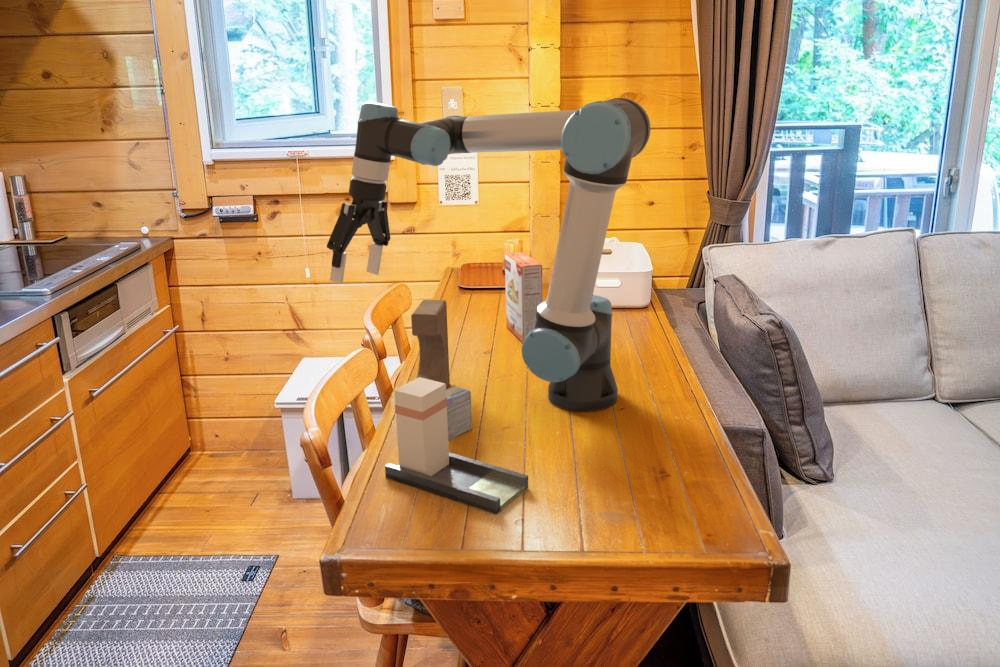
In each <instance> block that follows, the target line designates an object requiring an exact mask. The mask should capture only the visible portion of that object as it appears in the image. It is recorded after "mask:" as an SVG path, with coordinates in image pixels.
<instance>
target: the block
mask: <svg viewBox="0 0 1000 667" xmlns="http://www.w3.org/2000/svg"><path fill="white" fill-rule="evenodd" d="M446 390H447V388H446V384H445V383H441V382H437V381H433V380H429V379H425V378H421V377H418V378H417V377H415V379H413V380H411V381H409V382H407V383H405V384H403V385H401V386H400V387H397V388H396V389H394V412H395V420H396V421H395V422H396V433H397V434H396V436H397V450H398V465H399V466H401V467H404V468H407V469H410V470H413V471H416V472H419V473H423V474H426V475H429V476H433V475H434V474H435V473H437V472H438V471H440V470H441V469H443V468H444V467H446V466H447V465H448V464H449V452H450V450H449V448H450V447H449V441H448V422H447V398H446Z"/></svg>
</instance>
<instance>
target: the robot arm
mask: <svg viewBox="0 0 1000 667" xmlns="http://www.w3.org/2000/svg"><path fill="white" fill-rule="evenodd" d="M359 112H360V113H359V116H358V117H359V118H358V121H357V128H356V130H357V131H356V139H355V140H356V141H355V146H354V153H353V160H352V167H351V175H352V177H351V178H350V180H349V181H350V182H349V188H348V194H349V196H350V197H351V198H352V202H351V203H350V204H349V203H346V202H342V204H341V207H340V208H341V209H340V212H339V215H338V218H337V221H336V223H335V225H334V227H333V230H332V232H331V234H330V237H329V240H328V241H327V244H326V248H327V249H329V250H331V251H332V259H331V268H330V269H331V270H330V276H329V281H331V282H334V283H337V284H340V285H341V284H343V283H344V276H345V269H346V261H347V256H348V253H347V252H345V251H346V249H347V248H348V246H349V245H350V243H351V241H352V240H353V238H354V236H355V235H356V233H357V231H358V229H359V228H362V227H363V226H364V225H367V228H368V230H369V232H370V236H371V238H372V241H373V242H370V245H369V246H370V247H369V251H368V252H369V253H368V259H367V265H366V266H367V267H366V272H367V273H370V274H373V275H376V276H377V275H379V274H380V269H381V268H380V266H381V262H382V254H383V248H384V246H385V247H387V246H388V245H389V242H390V241H391V233H390V225H389V217H388V216H389V215H388V207H389V206H388V205H389V203H388V201H387V200H385V198H386V192H387V187H388V184H387V183H386V181H388V180H389V175H390V173H389V172H390V167H391V159H392V157H397V158H401V159H403V160H404V159H405V160H407V161H411V162H415V163H418V164H421V165H425V166H426V165H427V166H433V167H439V166H441V165H442V164H443V162H444V161H446V159H447V158H448V155H454V154H473V153H475V154H476V153H496V152H497V153H499V152H502V153H503V152H505V153H506V152H535V151H536V152H537V151H540V152H541V151H562V153H563V155H564V157H565V162H564V167H563V174H564V175H565V176H566V178H567V179H568V181H569V185H568V189H567V195H566V200H565V205H564V211H563V215H562V219H561V225H560V230H559V235H558V239H557V245H556V251H555V254H554V260H553V265H552V271H551V276H550V280H549V287H548V290H547V291H548V292H547V297H546V299H545V300H544V301H543V300H542V303H540V304H539V305H538V307H537V311H536V316H535V321H534V326H533V330H532V331H530V332H529V333H528V334H527V336H526V337H525V339H524V341H523V343H522V344H521V355H522V360H523V362H524V364H525V365H526V366H527V368H528V369H529V371H530V372H531V373H532V374H533V375H534V376H535V377H537V378H539V379H540V380H542V381H545V382H549V383H548V389H547V391H548V392H547V398H548V401H549V402H550V403H552V404H553V405H554V406H556V407H558V408H561V409H565V410H570V411H576V412H594V411H600V410H604V409H607V408H610V407H611V406H613V405H614V404H616V403H617V401H618V397H619V396H618V395H619V394H618V392H619V390H618V385H617V382H616V379H615V376H614V372H613V369H612V367H611V366H612V365H611V350H612V349H611V348H612V322H613V321H612V320H613V319H612V318H613V310H612V302H611V301H610V299H608V298H607V297H604V296H601V295H597V294H596V295H595V294H594V293H595V292H594V291H595V286H596V282H597V278H598V274H599V269H600V268H599V267H600V264H601V259H602V255H603V252H604V250H603V249H604V246H605V241H606V238H607V233H608V227H609V224H610V219H611V215H612V209H613V206H614V200H615V197H616V192H617V191H618V190H619V189H621V188H622V187H624V186H625V185H626V184H627V181H628V176H629V172H630V168H631V163H632V160H633V159H634V158H635V157H637V155H639V154H640V153H642V151H643V150H644V149H645V148H646V146H647V144H648V143H649V139H650V136H651V128H652V127H651V121H650V118H649V115H648V114H647V111H646V110H645V109H644V108H643V106H641V105H640V104H639V103H638V102H636V101H634V100H632V99H631V98H630V99H629V98H625V97H614V98H609V99H606V100H597V101H592V102H590V103H589V102H588V103H585V104H584V105H583V106H582V107H580V108H579V109H570V110H569V109H568V110H554V111H553V110H551V111H536V112H535V111H533V112H519V113H516V112H515V113H501V114H500V113H499V114H486V115H485V114H484V115H470V116H463V115H452V116H451V115H449V116H446V117H445V118H443V117H442V118H437V119H431V120H426V121H421V122H419V121H418V122H417V121H412V120H406V119H404V118H400V117H399V110H398V108H397V106H394V105H391V104H386V103H383V102H382V103H381V102H376V101H365V102H363V103H362V104H361V106H360V111H359Z"/></svg>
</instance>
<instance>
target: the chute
mask: <svg viewBox="0 0 1000 667" xmlns="http://www.w3.org/2000/svg"><path fill="white" fill-rule="evenodd" d="M384 470H385V471H384V473H385V474H384V475H385V479H388V480H391V481H394V482H398V483H400V484H403V485H406V486H409V487H412V488H415V489H418V490H421V491H424V492H428V493H430V494H433V495H435V496H439V497H443V498H445V499H448V500H451V501H454V502H458V503H459V504H464V505H466V506H469V507H472V508H476V509H478V510H482V511H484V512H488V513H491V514H494V515H498V514H499V513H500V512H502V510H504V509H505V508H506V507H507V506H509V505H510V504H511V503H512V502H514V501H515V500H516V499H517V498H518V497H520V496H521V495H522V494H523V493H525V492H526V491H527V490H528V489H529V475H528V474H524V473H520V472H518V471H514V470H510V469H508V468H503V467H500V466H496V465H493V464H490V463H486V462H483V461H481V460H476V459H473V458H472V457H471V458H469V457H467V456H465V455H460V454H456V453H453V452H450V451H449V464H448V465H447V466H446V467H444V468H443V469H441V470H440V471H438V472H437V473H435V474H434V475H433V476H429V475H426V474H423V473H419V472H416V471H413V470H410V469H407V468H404V467H401V466H399V464H394V463H391V462H389V463H386V464H385V465H384Z"/></svg>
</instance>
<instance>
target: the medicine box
mask: <svg viewBox="0 0 1000 667" xmlns="http://www.w3.org/2000/svg"><path fill="white" fill-rule="evenodd" d="M446 398H447V422H448V442H449V440H450V441H451V440H454V438H456V437H459V436H460V435H463V434H464V433H467V431H470V430H472V429H473V428H472V394H471V391H470V390H469V389H466V388H464V387H459V386H455V385H454V386H452V387H450V388H446Z"/></svg>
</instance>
